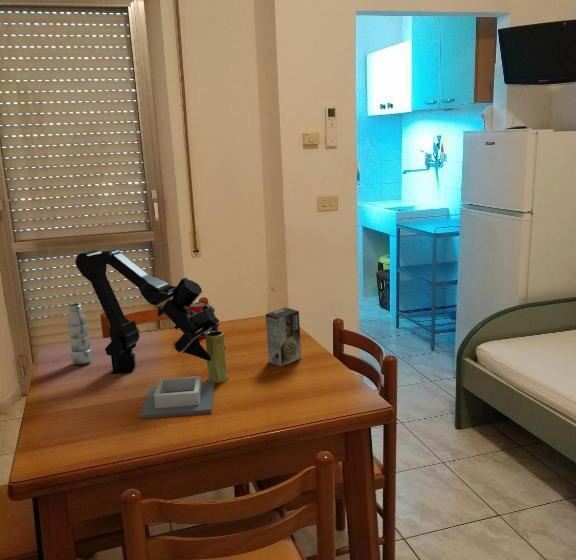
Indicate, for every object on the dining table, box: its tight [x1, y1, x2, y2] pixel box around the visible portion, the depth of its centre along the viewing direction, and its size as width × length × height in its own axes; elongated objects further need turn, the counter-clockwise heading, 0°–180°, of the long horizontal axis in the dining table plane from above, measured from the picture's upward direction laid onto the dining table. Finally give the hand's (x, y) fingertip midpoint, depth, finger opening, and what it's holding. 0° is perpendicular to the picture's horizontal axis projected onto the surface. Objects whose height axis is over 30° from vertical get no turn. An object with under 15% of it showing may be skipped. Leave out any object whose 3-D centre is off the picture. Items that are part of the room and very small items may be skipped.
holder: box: [140, 375, 215, 420], centre depth 151 cm, size 18×18×4 cm
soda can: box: [186, 302, 206, 340], centre depth 205 cm, size 8×8×12 cm
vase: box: [205, 330, 229, 384], centre depth 163 cm, size 6×6×14 cm
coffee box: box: [265, 307, 302, 367], centre depth 175 cm, size 9×6×16 cm
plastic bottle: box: [65, 303, 94, 365], centre depth 181 cm, size 6×7×20 cm
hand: (217, 354), depth 163 cm, fingers open, 9 cm apart
